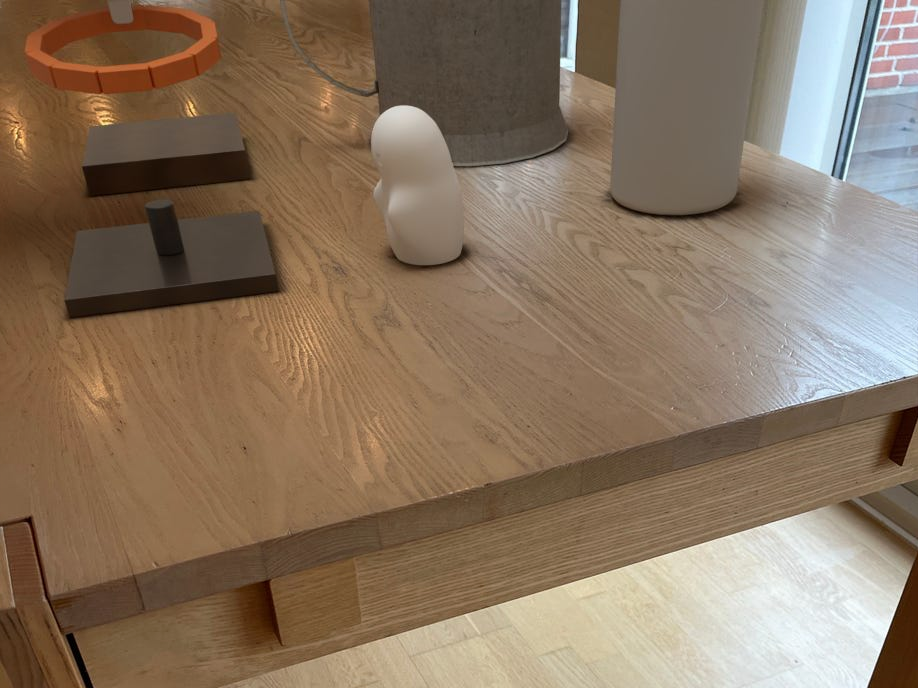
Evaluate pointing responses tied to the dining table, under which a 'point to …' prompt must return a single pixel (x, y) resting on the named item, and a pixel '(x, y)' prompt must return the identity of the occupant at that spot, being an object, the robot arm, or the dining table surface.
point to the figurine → (417, 187)
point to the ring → (122, 75)
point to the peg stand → (168, 262)
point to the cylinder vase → (682, 102)
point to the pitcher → (470, 72)
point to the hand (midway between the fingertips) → (124, 20)
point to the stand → (164, 154)
